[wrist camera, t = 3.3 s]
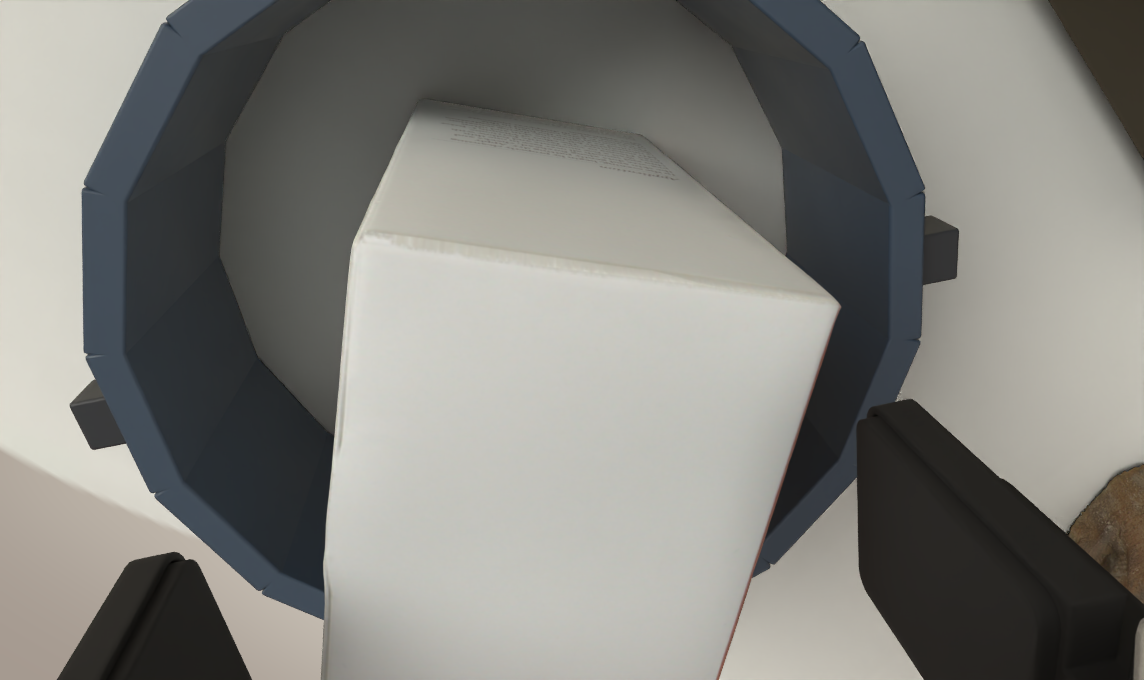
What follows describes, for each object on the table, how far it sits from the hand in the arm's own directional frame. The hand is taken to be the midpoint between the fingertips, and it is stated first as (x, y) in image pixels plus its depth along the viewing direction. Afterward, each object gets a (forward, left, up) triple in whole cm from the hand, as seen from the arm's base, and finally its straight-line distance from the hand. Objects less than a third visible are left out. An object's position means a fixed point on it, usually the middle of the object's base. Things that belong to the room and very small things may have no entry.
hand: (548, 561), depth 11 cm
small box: (0, 0, -13) cm, 13 cm away
